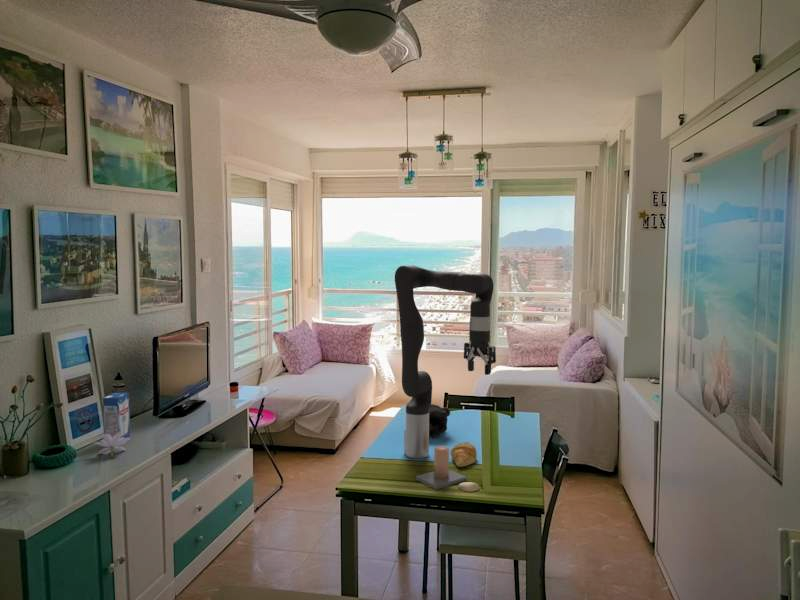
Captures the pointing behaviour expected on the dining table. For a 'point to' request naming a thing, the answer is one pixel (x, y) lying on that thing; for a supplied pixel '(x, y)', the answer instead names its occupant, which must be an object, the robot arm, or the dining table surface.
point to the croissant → (463, 454)
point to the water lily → (112, 443)
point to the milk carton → (116, 414)
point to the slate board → (440, 483)
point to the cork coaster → (469, 486)
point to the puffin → (437, 420)
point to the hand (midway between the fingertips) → (479, 372)
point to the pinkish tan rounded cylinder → (441, 462)
